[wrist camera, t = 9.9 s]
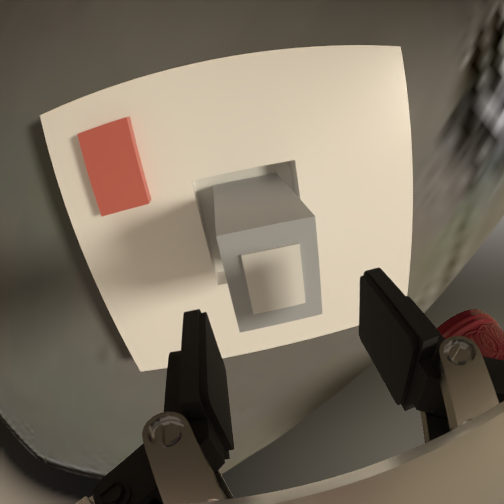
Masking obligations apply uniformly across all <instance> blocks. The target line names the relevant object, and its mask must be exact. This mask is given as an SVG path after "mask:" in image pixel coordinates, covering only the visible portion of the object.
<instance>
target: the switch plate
mask: <svg viewBox="0 0 504 504" xmlns="http://www.w3.org/2000/svg"><path fill="white" fill-rule="evenodd" d="M40 118H41V123H42V127H43V131H44V135H45V139H46V143H47V147H48V150H49V154H50V158H51V161H52V165H53V168H54V172H55V175H56V178H57V181H58V185H59V188H60V191H61V194H62V197H63V200H64V203H65V206H66V209H67V212H68V215H69V217H70V220H71V223H72V226H73V228H74V231H75V234H76V236H77V239H78V242H79V244H80V247H81V249H82V252H83V254H84V257H85V259H86V261H87V264H88V266H89V269H90V271H91V273H92V276H93V278H94V280H95V282H96V285H97V287H98V289H99V291H100V293H101V296H102V298H103V300H104V302H105V304H106V306H107V308H108V310H109V312H110V315H111V317H112V319H113V321H114V323H115V325H116V327H117V329H118V331H119V333H120V334H121V336H122V338H123V340H124V342H125V344H126V346H127V348H128V350H129V351H130V353H131V355H132V357H133V359H134V361H135V362H136V364H137V366H138V368H139V369H140V371H148V370H155V369H162V368H168V357H169V353H170V352H174V351H180V350H181V341H182V326H183V314H184V312H187V311H192V310H197V309H200V311H201V313H203V312H206V313H207V315H208V318H209V321H210V324H211V327H212V330H213V333H214V336H215V339H216V342H217V345H218V348H219V351H220V354H221V357H222V358H226V357H231V356H236V355H241V354H246V353H251V352H255V351H260V350H265V349H269V348H273V347H278V346H282V345H286V344H290V343H295V342H299V341H303V340H307V339H311V338H315V337H318V336H322V335H326V334H330V333H333V332H337V331H341V330H344V329H348V328H351V327H355V326H358V325H359V302H360V277H361V276H363V275H364V272H365V271H367V270H371V269H374V268H381V269H382V270H383V271H384V272H385V274H386V275H387V276H388V277H389V278H390V279H391V280H392V281H393V282H394V284H395V285H396V286H397V287H398V288H399V289H400V290H401V291H402V293H403V294H404V295H405V296H407V291H408V281H409V270H410V257H411V240H412V212H413V174H412V146H411V129H410V117H409V106H408V96H407V87H406V79H405V72H404V65H403V58H402V52H401V47H400V46H376V45H342V46H317V47H302V48H290V49H280V50H271V51H263V52H256V53H249V54H242V55H236V56H230V57H224V58H219V59H214V60H209V61H204V62H199V63H194V64H190V65H186V66H181V67H177V68H173V69H169V70H165V71H162V72H158V73H154V74H151V75H147V76H144V77H140V78H137V79H134V80H130V81H127V82H124V83H121V84H118V85H115V86H112V87H109V88H106V89H103V90H101V91H98V92H95V93H92V94H90V95H87V96H85V97H82V98H79V99H77V100H74V101H72V102H69V103H67V104H65V105H62V106H60V107H58V108H55V109H53V110H51V111H49V112H46V113H44V114H42V115H40ZM272 173H277V174H278V175H279V176H280V178H281V179H282V180H283V181H284V182H285V183H286V184H287V185H288V186H289V187H290V188H291V190H292V191H293V192H294V193H295V194H296V195H297V196H298V197H299V198H300V200H301V201H302V202H303V203H304V204H305V205H306V206H307V207H308V209H309V210H310V211H311V212H312V213H313V214H314V215H315V221H316V232H317V243H318V255H319V268H320V283H321V298H322V314H320V315H316V316H312V317H308V318H304V319H299V320H295V321H291V322H287V323H282V324H278V325H273V326H269V327H264V328H259V329H255V330H250V331H245V332H240V331H239V327H238V324H237V320H236V316H235V312H234V308H233V304H232V300H231V296H230V292H229V288H228V284H227V279H226V275H225V271H224V267H223V263H222V259H221V255H220V250H219V246H218V242H217V238H216V227H215V212H214V195H213V185H216V184H221V183H226V182H231V181H236V180H241V179H246V178H251V177H256V176H262V175H267V174H272Z"/></svg>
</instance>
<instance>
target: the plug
mask: <svg viewBox="0 0 504 504" xmlns="http://www.w3.org/2000/svg"><path fill="white" fill-rule="evenodd" d="M213 195H214V212H215V227H216V238H217V242H218V246H219V250H220V255H221V259H222V263H223V267H224V271H225V275H226V279H227V284H228V288H229V292H230V296H231V300H232V304H233V308H234V312H235V316H236V320H237V324H238V327H239V331H240V332H245V331H250V330H255V329H259V328H264V327H269V326H273V325H278V324H282V323H287V322H291V321H295V320H299V319H304V318H308V317H312V316H316V315H320V314H322V298H321V283H320V268H319V255H318V243H317V232H316V221H315V215H314V214H313V213H312V212H311V211H310V210H309V209H308V207H307V206H306V205H305V204H304V203H303V202H302V201H301V200H300V198H299V197H298V196H297V195H296V194H295V193H294V192H293V191H292V190H291V188H290V187H289V186H288V185H287V184H286V183H285V182H284V181H283V180H282V179H281V178H280V176H279V175H278V174H277V173H272V174H267V175H262V176H256V177H251V178H246V179H241V180H236V181H231V182H226V183H221V184H216V185H213Z"/></svg>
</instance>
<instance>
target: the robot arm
mask: <svg viewBox="0 0 504 504" xmlns="http://www.w3.org/2000/svg"><path fill="white" fill-rule="evenodd" d="M359 336H360V339H361V341H362V343H363V345H364V347H365V348H366V350H367V352H368V354H369V355H370V357H371V359H372V361H373V363H374V364H375V366H376V368H377V369H378V371H379V373H380V375H381V377H382V379H383V380H384V382H385V384H386V386H387V388H388V389H389V391H390V393H391V395H392V397H393V399H394V400H395V402H396V404H397V405H400V404H401V405H402V406H403V408H404V410H405V411H406V410H408V409H411V408H414V407H415V408H416V409H417V410H419V411H421V418H422V426H423V433H424V440H425V444H423V445H420V446H418V447H416V448H414V449H411V450H409V451H406V452H404V453H402V454H399V455H397V456H395V457H392V458H389V459H387V460H384V461H382V462H379V463H376V464H373V465H371V466H368V467H365V468H362V469H359V470H356V471H353V472H350V473H347V474H343V475H340V476H337V477H333V478H330V479H326V480H323V481H319V482H315V483H311V484H307V485H303V486H300V487H295V488H291V489H286V490H281V491H276V492H271V493H266V494H260V495H254V496H248V497H241V498H233V496H232V494H231V492H230V490H229V488H228V486H227V485H226V483H225V481H224V479H223V477H222V475H221V473H220V471H219V469H220V468H221V467H222V465H223V464H224V463H225V460H224V459H230V458H229V450H234V442H233V434H232V425H231V416H230V406H229V397H228V387H227V377H226V370H225V366H224V362H223V360H222V357H221V354H220V351H219V348H218V345H217V342H216V339H215V336H214V333H213V330H212V327H211V324H210V321H209V318H208V315H207V313H206V312H203V313H201V311H200V309H197V310H192V311H187V312H184V314H183V326H182V341H181V350H180V351H174V352H170V353H169V357H168V368H167V379H166V391H165V405H164V412H163V413H159V414H157V415H155V416H153V417H152V418H151V419H150V420H149V421H147V423H146V424H145V426H144V428H143V432H142V438H143V443H144V444H142V445H141V446H140V447H139V448H138V449H137V450H135V451H134V452H133V453H132V454H131V455H130V456H129V457H127V458H126V459H125V460H124V461H123V462H121V463H120V464H119V465H118V466H117V467H115V468H114V469H113V470H112V471H111V472H109V473H108V474H107V475H106V476H105V477H103V478H102V479H101V480H100V481H99V482H98V483H97V484H96V487H95V489H94V493H93V496H92V497H90V498H87V497H84V498H83V499H81V500H80V501H78V502H77V503H75V504H504V360H499V359H494V358H490V357H485V356H482V354H481V352H480V349H479V347H478V346H477V344H476V343H475V342H474V341H472V340H471V339H469V338H467V337H462V336H453V337H449V338H447V339H446V340H445V338H444V337H443V336H442V335H441V333H440V332H439V331H438V330H437V329H436V327H435V326H434V325H433V324H432V323H431V322H430V320H429V319H428V318H427V317H426V316H425V314H424V313H423V312H422V311H421V310H420V309H419V307H418V306H417V305H416V304H415V303H414V302H413V300H412V299H411V298H409V297H408V296H405V295H404V294H403V293H402V291H401V290H400V289H399V288H398V287H397V286H396V285H395V284H394V282H393V281H392V280H391V279H390V278H389V277H388V276H387V275H386V274H385V272H384V271H383V270H382V269H381V268H374V269H371V270H367V271H365V272H364V275H363V276H361V277H360V302H359Z"/></svg>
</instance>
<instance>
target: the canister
mask: <svg viewBox="0 0 504 504" xmlns="http://www.w3.org/2000/svg"><path fill="white" fill-rule="evenodd" d="M437 330H438V331H439V332H440V333H441V335H442V336H443V337H444V338H445V340H446V339H447V338H449V337H453V336H462V337H467V338H469V339H471V340H472V341H474V342H475V343H476V344H477V346H478V347H479V349H480V352H481V354H482V356H485V357H490V358H494V359H499V360H504V331H503V330H502V329H501V328H500V326H499V324H498V323H497V321H496V320H494V319H493V317H491V316H490V315H488V314H486V313H484V312H483V311H481V310H477V309H472V310H467V311H464V312H462V313H459V314H457V315H456V316H454V317H452V318H450V319H449V320H447V321H446V322H444V323H443V324H442V325H441V326H439V327H438V328H437Z"/></svg>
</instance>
